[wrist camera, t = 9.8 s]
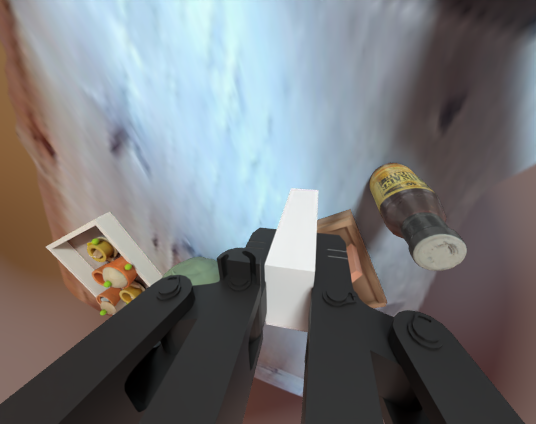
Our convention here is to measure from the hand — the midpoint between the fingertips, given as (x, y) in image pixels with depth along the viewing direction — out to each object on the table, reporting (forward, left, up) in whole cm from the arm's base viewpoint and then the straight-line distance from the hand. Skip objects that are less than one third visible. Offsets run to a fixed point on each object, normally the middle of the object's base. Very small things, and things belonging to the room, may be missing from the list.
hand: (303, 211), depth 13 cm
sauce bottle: (-8, +11, -27) cm, 30 cm away
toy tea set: (+62, +11, -27) cm, 68 cm away
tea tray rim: (+62, +11, -26) cm, 68 cm away
